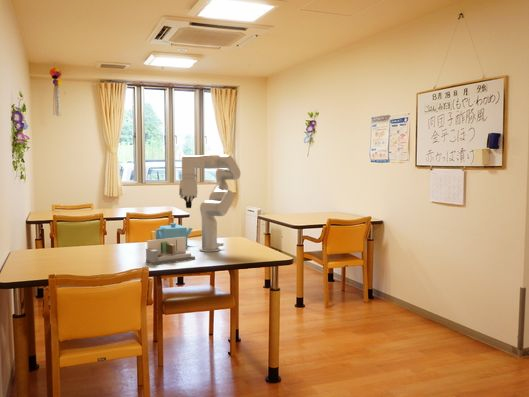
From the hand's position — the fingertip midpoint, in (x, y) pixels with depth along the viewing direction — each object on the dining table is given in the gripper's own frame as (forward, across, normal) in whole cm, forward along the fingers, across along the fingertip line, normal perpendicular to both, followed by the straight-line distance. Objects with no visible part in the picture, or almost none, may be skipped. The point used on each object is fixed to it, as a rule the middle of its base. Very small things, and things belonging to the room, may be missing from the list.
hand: (188, 207), depth 295 cm
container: (+30, -10, -38) cm, 49 cm away
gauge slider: (+27, +17, +4) cm, 32 cm away
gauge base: (+29, +14, +4) cm, 33 cm away
